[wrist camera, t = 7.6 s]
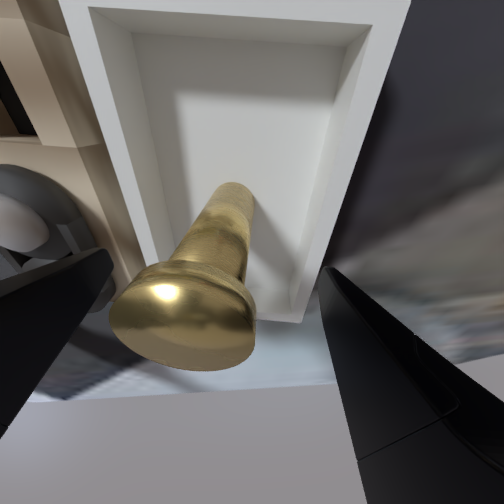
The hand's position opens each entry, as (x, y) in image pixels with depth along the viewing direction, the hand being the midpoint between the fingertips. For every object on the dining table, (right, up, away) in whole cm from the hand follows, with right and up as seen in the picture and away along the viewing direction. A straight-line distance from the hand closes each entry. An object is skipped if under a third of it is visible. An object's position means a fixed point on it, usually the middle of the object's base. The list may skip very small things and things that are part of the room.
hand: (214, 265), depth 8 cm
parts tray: (0, +4, +6) cm, 8 cm away
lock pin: (0, +4, +5) cm, 7 cm away
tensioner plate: (-12, +5, +6) cm, 14 cm away
